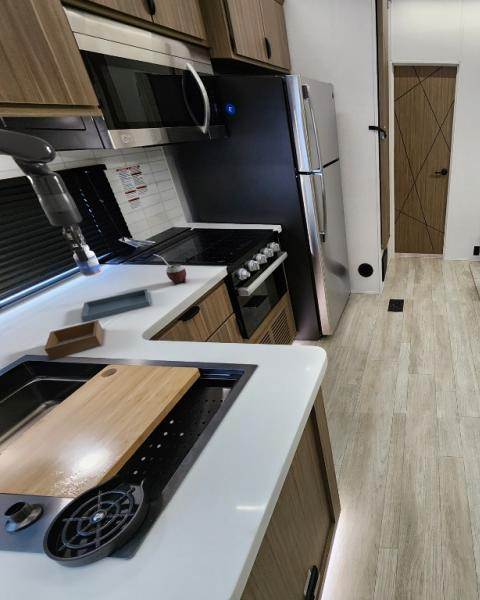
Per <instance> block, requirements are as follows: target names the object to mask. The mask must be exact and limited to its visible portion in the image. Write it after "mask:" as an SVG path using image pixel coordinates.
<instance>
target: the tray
mask: <svg viewBox="0 0 480 600" xmlns="http://www.w3.org/2000/svg"><path fill="white" fill-rule="evenodd" d="M149 293H150V292H149V291H148V288H144V289H140V290H134V291H130V292H126V293H121V294H116V295H113V296H108V297H102V298H99V299H98V298H97V299H94V300H89V301H85V302H83V306H82V311H81V315H80V318H81V320H82V322H83V323H87V322H92V321H96V320H98V319H102V318H107V317H110V316H115V315H118V314H123V313H127V312H130V311H135V310H139V309H143V308H147V307H151V300H150V294H149Z"/></svg>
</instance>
